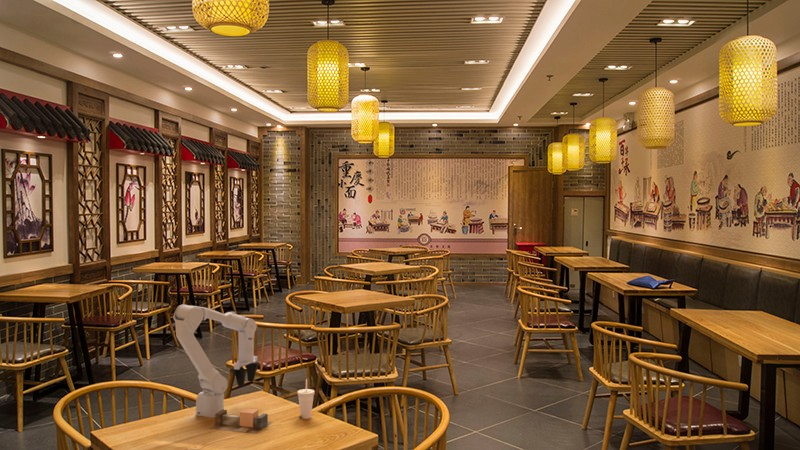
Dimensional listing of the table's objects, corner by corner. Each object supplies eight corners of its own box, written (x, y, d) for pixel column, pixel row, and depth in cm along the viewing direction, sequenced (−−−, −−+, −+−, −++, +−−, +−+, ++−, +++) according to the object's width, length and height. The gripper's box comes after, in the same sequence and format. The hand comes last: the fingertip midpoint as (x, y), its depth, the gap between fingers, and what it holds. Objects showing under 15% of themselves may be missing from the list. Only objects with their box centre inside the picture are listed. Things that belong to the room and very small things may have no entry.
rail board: (209, 431, 209) (209, 416, 208) (227, 420, 220) (227, 406, 220) (256, 436, 204) (256, 421, 204) (272, 424, 216) (272, 410, 215)
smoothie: (316, 414, 227) (316, 377, 227) (312, 420, 221) (312, 382, 221) (299, 414, 228) (299, 377, 228) (295, 419, 221) (295, 381, 221)
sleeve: (239, 426, 210) (239, 412, 210) (245, 422, 214) (245, 408, 214) (252, 427, 209) (252, 413, 209) (258, 423, 213) (258, 409, 213)
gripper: (245, 353, 226) (245, 389, 226) (264, 345, 240) (264, 379, 240) (229, 352, 228) (229, 388, 228) (248, 344, 242) (248, 378, 242)
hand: (245, 383), depth 235 cm, fingers open, 7 cm apart
